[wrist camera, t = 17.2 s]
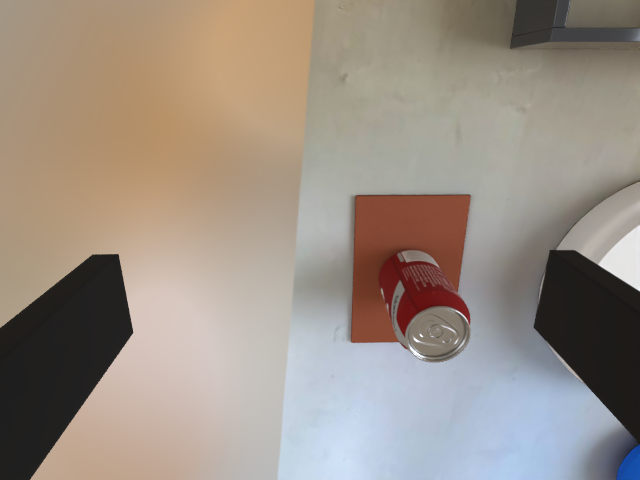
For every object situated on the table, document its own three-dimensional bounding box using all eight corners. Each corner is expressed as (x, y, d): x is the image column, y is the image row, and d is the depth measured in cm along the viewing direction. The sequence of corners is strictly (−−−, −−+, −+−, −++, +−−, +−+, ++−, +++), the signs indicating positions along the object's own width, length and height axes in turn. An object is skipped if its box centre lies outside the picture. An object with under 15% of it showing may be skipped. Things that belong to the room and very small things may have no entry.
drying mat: (355, 195, 43) (356, 196, 43) (469, 194, 44) (470, 195, 43) (351, 340, 50) (351, 342, 49) (450, 339, 50) (451, 341, 50)
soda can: (395, 236, 45) (424, 288, 33) (448, 260, 46) (493, 318, 35) (366, 287, 47) (384, 352, 36) (418, 309, 48) (451, 378, 37)
